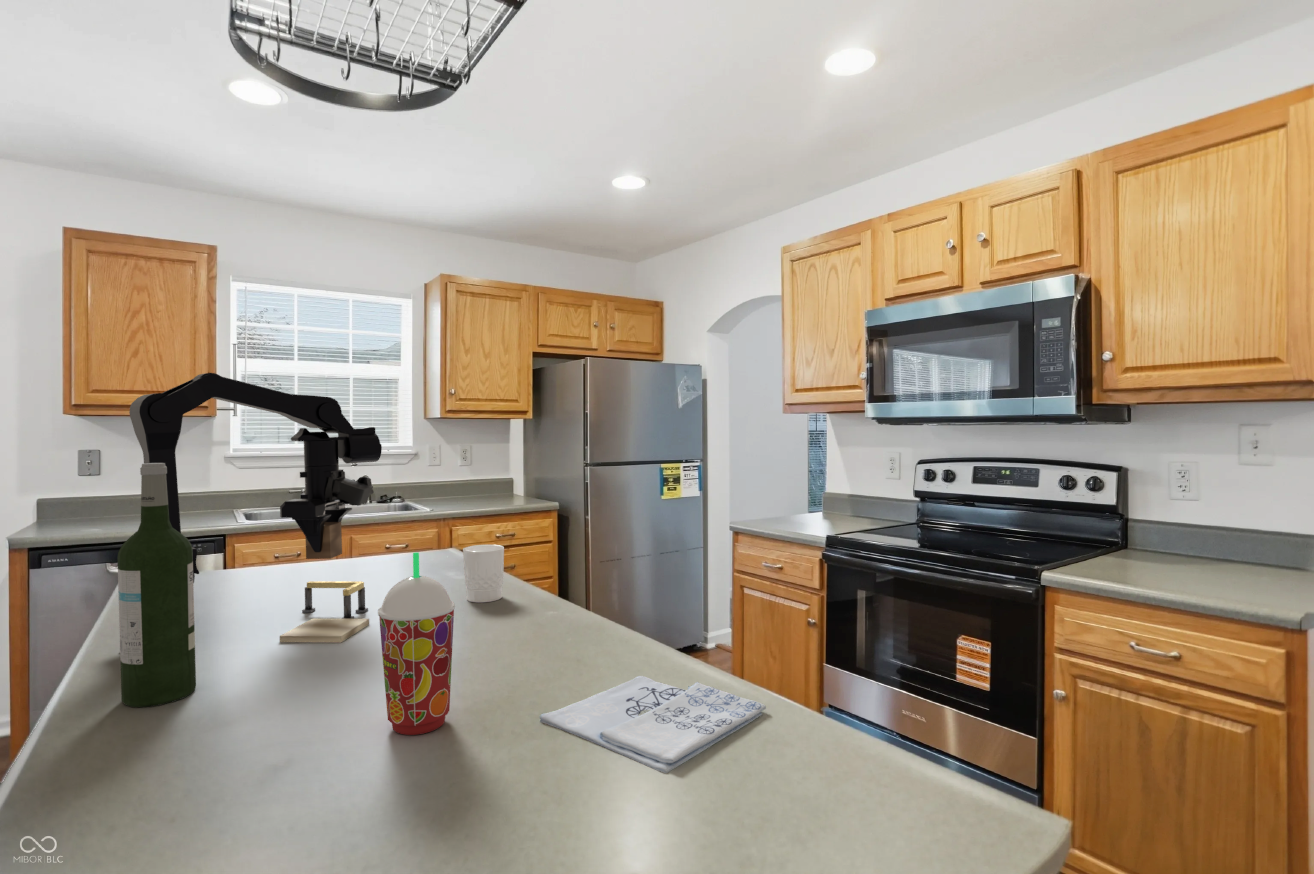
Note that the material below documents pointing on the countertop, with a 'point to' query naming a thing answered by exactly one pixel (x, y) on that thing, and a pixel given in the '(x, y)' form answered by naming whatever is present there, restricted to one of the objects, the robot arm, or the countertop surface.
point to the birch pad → (324, 630)
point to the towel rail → (350, 589)
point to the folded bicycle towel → (656, 720)
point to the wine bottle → (156, 603)
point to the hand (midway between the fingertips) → (324, 549)
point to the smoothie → (417, 653)
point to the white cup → (483, 572)
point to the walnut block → (327, 542)
